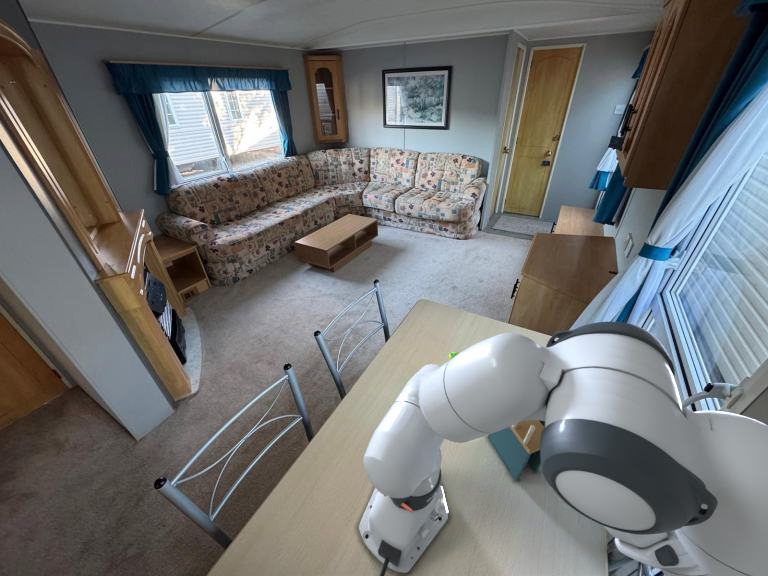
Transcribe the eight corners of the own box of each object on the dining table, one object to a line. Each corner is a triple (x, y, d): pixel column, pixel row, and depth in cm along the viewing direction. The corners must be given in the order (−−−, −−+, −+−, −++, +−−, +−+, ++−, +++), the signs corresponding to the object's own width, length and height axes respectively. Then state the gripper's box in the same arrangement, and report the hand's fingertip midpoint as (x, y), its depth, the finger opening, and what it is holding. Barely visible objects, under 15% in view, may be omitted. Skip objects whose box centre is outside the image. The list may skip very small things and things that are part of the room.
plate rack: (560, 461, 81) (597, 406, 65) (514, 481, 77) (541, 428, 62) (529, 421, 90) (555, 364, 75) (487, 437, 87) (505, 382, 71)
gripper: (741, 515, 48) (684, 424, 53) (646, 572, 43) (593, 466, 48) (699, 505, 53) (650, 424, 58) (611, 555, 48) (566, 461, 54)
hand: (624, 443), depth 53 cm, fingers closed on block, 3 cm apart
